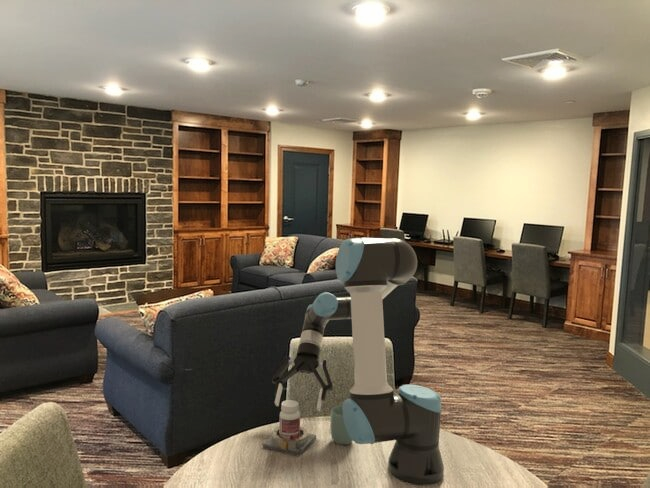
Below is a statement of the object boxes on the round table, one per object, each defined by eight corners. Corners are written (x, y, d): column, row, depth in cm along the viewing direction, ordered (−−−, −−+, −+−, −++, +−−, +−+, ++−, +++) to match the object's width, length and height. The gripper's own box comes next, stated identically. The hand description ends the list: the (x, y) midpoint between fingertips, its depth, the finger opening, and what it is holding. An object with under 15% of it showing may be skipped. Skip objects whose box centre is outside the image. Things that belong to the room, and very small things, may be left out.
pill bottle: (303, 441, 161) (304, 404, 160) (285, 446, 158) (286, 409, 157) (293, 433, 166) (293, 397, 165) (275, 437, 163) (276, 401, 162)
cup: (360, 440, 166) (361, 409, 165) (347, 450, 160) (348, 417, 158) (338, 433, 170) (339, 402, 169) (325, 442, 164) (326, 411, 163)
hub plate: (316, 438, 166) (316, 428, 166) (299, 457, 155) (299, 446, 154) (280, 430, 170) (281, 421, 170) (261, 448, 159) (262, 437, 159)
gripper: (347, 355, 184) (337, 416, 171) (276, 348, 188) (261, 406, 176) (345, 345, 178) (335, 407, 165) (272, 337, 183) (256, 397, 170)
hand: (297, 407), depth 170 cm, fingers open, 13 cm apart
